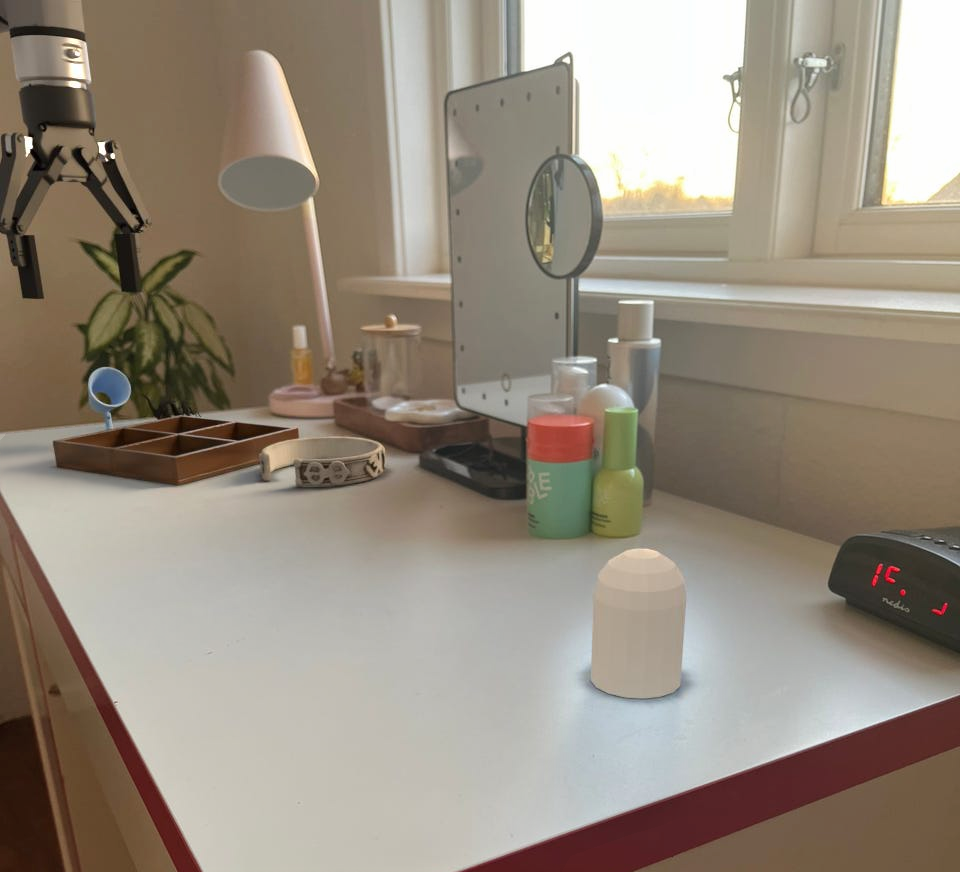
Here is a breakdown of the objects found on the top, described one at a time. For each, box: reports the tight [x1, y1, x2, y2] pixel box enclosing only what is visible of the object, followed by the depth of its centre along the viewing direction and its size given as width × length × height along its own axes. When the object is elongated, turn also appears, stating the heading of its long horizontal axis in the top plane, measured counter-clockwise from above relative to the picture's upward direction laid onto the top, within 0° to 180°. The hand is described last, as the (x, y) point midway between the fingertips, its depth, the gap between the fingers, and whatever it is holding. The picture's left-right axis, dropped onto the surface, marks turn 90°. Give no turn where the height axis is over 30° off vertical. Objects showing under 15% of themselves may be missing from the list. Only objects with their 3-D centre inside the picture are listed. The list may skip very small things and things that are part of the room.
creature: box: [139, 391, 202, 420], centre depth 142 cm, size 8×5×8 cm
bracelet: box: [259, 435, 387, 488], centre depth 113 cm, size 14×14×3 cm
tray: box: [52, 415, 300, 486], centre depth 121 cm, size 20×20×3 cm
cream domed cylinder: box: [590, 548, 687, 700], centre depth 59 cm, size 5×5×8 cm
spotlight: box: [87, 366, 132, 430], centre depth 127 cm, size 5×10×7 cm
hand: (84, 295), depth 118 cm, fingers open, 13 cm apart
